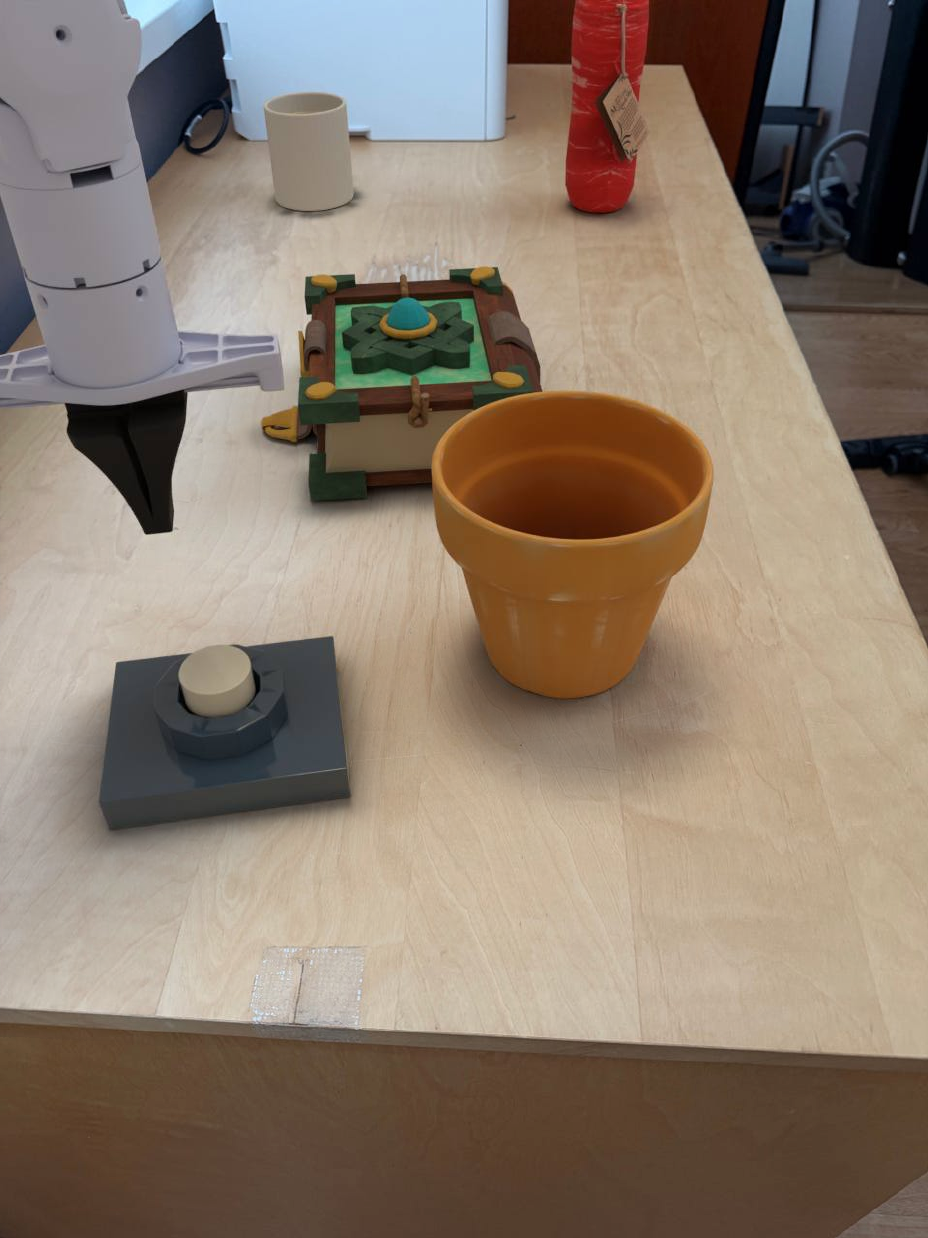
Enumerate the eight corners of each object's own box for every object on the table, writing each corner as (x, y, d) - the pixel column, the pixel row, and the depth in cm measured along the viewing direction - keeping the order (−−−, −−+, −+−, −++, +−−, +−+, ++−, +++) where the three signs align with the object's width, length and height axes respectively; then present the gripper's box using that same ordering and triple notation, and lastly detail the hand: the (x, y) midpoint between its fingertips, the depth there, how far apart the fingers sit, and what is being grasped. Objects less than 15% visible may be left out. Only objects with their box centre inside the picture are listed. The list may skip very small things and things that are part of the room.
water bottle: (651, 227, 110) (681, -51, 93) (577, 232, 109) (593, -48, 93) (624, 188, 119) (646, -72, 102) (555, 192, 118) (566, -69, 102)
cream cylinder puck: (183, 723, 52) (176, 698, 51) (186, 673, 55) (179, 648, 53) (256, 713, 52) (251, 689, 51) (255, 664, 55) (250, 640, 54)
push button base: (109, 831, 51) (88, 778, 49) (124, 689, 59) (107, 637, 56) (351, 797, 53) (344, 744, 50) (336, 663, 60) (330, 611, 58)
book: (272, 336, 92) (256, 222, 85) (509, 323, 93) (511, 210, 87) (254, 508, 72) (230, 377, 65) (555, 489, 73) (562, 359, 67)
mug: (294, 217, 114) (282, 119, 107) (261, 191, 120) (248, 97, 113) (382, 198, 118) (376, 102, 111) (347, 174, 124) (339, 82, 117)
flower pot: (441, 742, 55) (432, 548, 47) (437, 575, 66) (429, 392, 58) (705, 732, 56) (745, 537, 47) (658, 567, 66) (684, 384, 58)
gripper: (263, 215, 48) (298, 465, 57) (-65, 239, 46) (24, 493, 55) (266, 276, 43) (304, 541, 52) (-103, 306, 41) (2, 575, 50)
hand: (159, 522), depth 53 cm, fingers closed
